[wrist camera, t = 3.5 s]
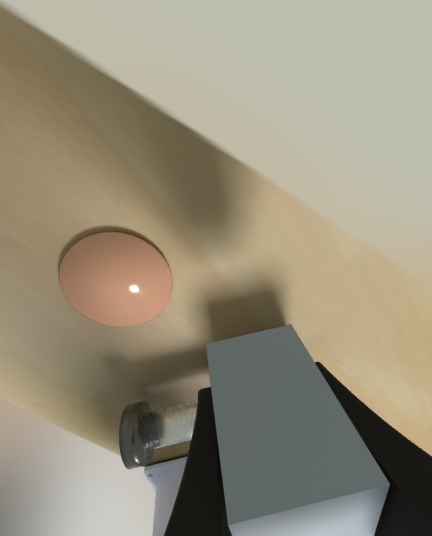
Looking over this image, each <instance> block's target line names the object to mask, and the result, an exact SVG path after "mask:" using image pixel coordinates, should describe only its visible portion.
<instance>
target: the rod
mask: <svg viewBox="0 0 432 536" xmlns="http://www.w3.org/2000/svg"><path fill="white" fill-rule="evenodd" d="M197 403H198V400H197V401H193V402H189V403H184V404H180V405H176V406H172V407H167V408H163V409H159V410H155V411H151V408H150V405H149V404H148V402H146V401H142V402H138V403H134V404H130V405H127V406H126V407H125V409H124V411H123V414H122V417H121V422H120V430H119V444H120V453H121V457H122V460H123V463H124V465H125V467H126V468H127V469H132V468H137V467H141V466H145V465H148V464H149V463H150V462H151V460H152V457H153V452H154V449H157V448H161V447H165V446H169V445H173V444H178V443H182V442H186V441H190V440H191V439H192V434H193V429H194V424H195V418H196V411H197Z"/></svg>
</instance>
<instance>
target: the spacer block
mask: <svg viewBox="0 0 432 536" xmlns="http://www.w3.org/2000/svg"><path fill="white" fill-rule="evenodd" d="M206 350H207V359H208V367H209V375H210V383H211V391H212V399H213V407H214V415H215V423H216V431H217V439H218V447H219V455H220V463H221V472H222V480H223V488H224V496H225V504H226V512H227V520H228V526H229V529H230V531H231V534H232V536H374V534H375V531H376V527H377V524H378V521H379V518H380V515H381V511H382V508H383V505H384V502H385V499H386V495H387V492H388V489H389V486H390V483H389V482H388V480H387V479H386V477H385V475H384V474H383V472H382V471H381V469H380V467H379V466H378V464H377V462H376V461H375V459H374V458H373V456H372V454H371V453H370V451H369V450H368V448H367V446H366V445H365V443H364V441H363V440H362V438H361V437H360V435H359V433H358V432H357V430H356V429H355V427H354V425H353V424H352V422H351V420H350V419H349V417H348V416H347V414H346V412H345V411H344V409H343V408H342V406H341V404H340V403H339V401H338V399H337V398H336V396H335V395H334V393H333V391H332V390H331V388H330V387H329V385H328V383H327V382H326V380H325V378H324V377H323V375H322V374H321V372H320V370H319V369H318V367H317V366H316V364H315V362H314V361H313V359H312V357H311V356H310V354H309V353H308V351H307V349H306V348H305V346H304V345H303V343H302V341H301V340H300V338H299V336H298V335H297V333H296V332H295V330H294V328H293V327H292V325H291V324H290V325H286V326H281V327H277V328H273V329H268V330H264V331H259V332H255V333H251V334H246V335H242V336H237V337H233V338H229V339H224V340H220V341H215V342H211V343H207V344H206Z"/></svg>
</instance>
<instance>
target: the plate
mask: <svg viewBox="0 0 432 536" xmlns="http://www.w3.org/2000/svg"><path fill="white" fill-rule="evenodd" d="M59 279H60V285H61V289H62V291H63V293H64V296H65V297H66V299H67V300H68V302H69V303H70V304H71V305H72V307H73V308H75V309H76V310H77V311H78V312H79V313H80V314H82V315H83V316H85V317H87V318H88V319H90V320H92V321H94V322H97V323H100V324H103V325H108V326H114V327H129V326H135V325H139V324H142V323H145V322H147V321H149V320H151V319H153V318H154V317H155V316H157V315H158V314H159V313H160V312H161V311H162V310H163V309H164V308H165V306H166V305H167V303H168V301H169V299H170V296H171V292H172V275H171V270H170V268H169V265H168V263H167V262H166V260H165V258H164V257H163V256H162V254H161V253H160V252H159V251H158V250H157V249H156V248H155V247H154V246H152V245H151V244H150V243H148V242H146V241H145V240H143V239H141V238H139V237H136V236H134V235H131V234H127V233H122V232H102V233H97V234H93V235H90V236H88V237H85V238H83V239H82V240H80V241H79V242H77V243H76V244H75V245H74V246H73V247H71V248H70V250H69V251H68V252H67V253H66V255H65V256H64V258H63V260H62V263H61V266H60V271H59Z"/></svg>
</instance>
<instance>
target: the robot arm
mask: <svg viewBox="0 0 432 536" xmlns="http://www.w3.org/2000/svg"><path fill="white" fill-rule="evenodd" d="M315 364H316V366H317V367H318V369H319V370H320V372H321V374H322V375H323V377H324V378H325V380H326V382H327V383H328V385H329V387H330V388H331V390H332V391H333V393H334V395H335V396H336V398H337V399H338V401H339V403H340V404H341V406H342V408H343V409H344V411H345V412H346V414H347V416H348V417H349V419H350V420H351V422H352V424H353V425H354V427H355V429H356V430H357V432H358V433H359V435H360V437H361V438H362V440H363V441H364V443H365V445H366V446H367V448H368V450H369V451H370V453H371V454H372V456H373V458H374V459H375V461H376V462H377V464H378V466H379V467H380V469H381V471H382V472H383V474H384V475H385V477H386V479H387V480H388V482H389V483H390V486H389V489H388V492H387V495H386V499H385V502H384V505H383V508H382V511H381V515H380V518H379V521H378V524H377V527H376V531H375V534H374V536H432V456H430V455H429V454H428V453H426V452H425V451H423V450H422V449H421V448H419V447H418V446H417V445H415V444H414V443H412V442H411V441H410V440H408V439H407V438H406V437H404V436H403V435H402V434H401V433H399V432H398V431H397V430H395V429H394V428H393V427H392V426H390V425H389V424H388V423H387V422H385V421H384V420H383V419H382V418H380V417H379V416H378V415H377V414H376V413H374V412H373V411H372V410H371V409H370V408H368V407H367V406H366V405H365V404H364V403H363V402H362V401H360V400H359V399H358V398H357V397H356V396H355V395H354V394H352V393H351V392H350V391H349V390H348V389H347V388H346V387H345V386H344V385H343V384H342V383H341V382H339V381H338V380H337V379H336V378H335V377H334V376H333V375H332V374H331V373H330V372H329V371H328V370H327V369H326V368H325V367H324V366H323V365H322V364H321V363H320V362H315ZM144 474H145V476H146V477H147V479H148V480H149V482H150V484H151V485H152V487H153V488H154V490H155V492H156V497H155V511H154V525H153V536H232V534H231V531H230V529H229V526H228V520H227V512H226V504H225V496H224V488H223V480H222V472H221V463H220V455H219V447H218V439H217V431H216V423H215V415H214V407H213V399H212V391H211V387H208V388H204V389H200V390H199V392H198V403H197V411H196V418H195V424H194V429H193V434H192V439H191V443H190V448H189V452H188V456H187V457H184V458H179V459H175V460H171V461H167V462H163V463H159V464H155V465H151V466H147V467H145V469H144Z"/></svg>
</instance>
